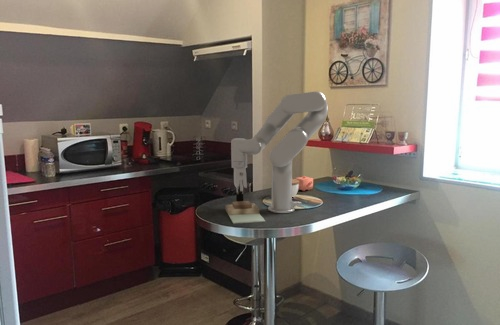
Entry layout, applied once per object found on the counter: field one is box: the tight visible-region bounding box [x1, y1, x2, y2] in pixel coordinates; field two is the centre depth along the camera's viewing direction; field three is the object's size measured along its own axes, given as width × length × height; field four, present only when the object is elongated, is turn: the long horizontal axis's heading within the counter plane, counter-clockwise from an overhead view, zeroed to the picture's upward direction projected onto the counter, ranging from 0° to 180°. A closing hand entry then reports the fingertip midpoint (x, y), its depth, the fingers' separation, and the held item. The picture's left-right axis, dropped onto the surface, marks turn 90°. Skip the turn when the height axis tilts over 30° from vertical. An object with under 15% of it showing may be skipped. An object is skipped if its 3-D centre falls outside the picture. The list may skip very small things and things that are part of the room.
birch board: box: [225, 202, 260, 216], centre depth 199 cm, size 14×11×2 cm
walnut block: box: [231, 200, 252, 209], centre depth 199 cm, size 8×7×2 cm
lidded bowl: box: [292, 178, 299, 197], centre depth 228 cm, size 13×13×11 cm
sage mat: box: [228, 213, 266, 225], centre depth 188 cm, size 14×12×1 cm
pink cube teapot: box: [294, 175, 314, 192], centre depth 245 cm, size 8×12×8 cm, turn 34°
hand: (239, 201), depth 205 cm, fingers closed
